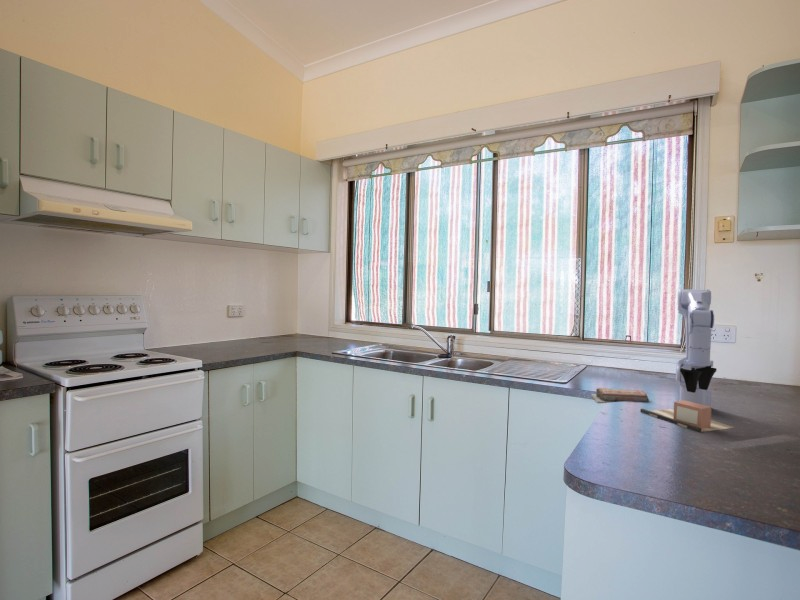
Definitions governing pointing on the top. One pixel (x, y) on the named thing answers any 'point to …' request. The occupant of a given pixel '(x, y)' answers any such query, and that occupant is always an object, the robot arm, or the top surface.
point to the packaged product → (618, 395)
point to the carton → (692, 413)
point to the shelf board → (669, 415)
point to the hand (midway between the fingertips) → (697, 390)
